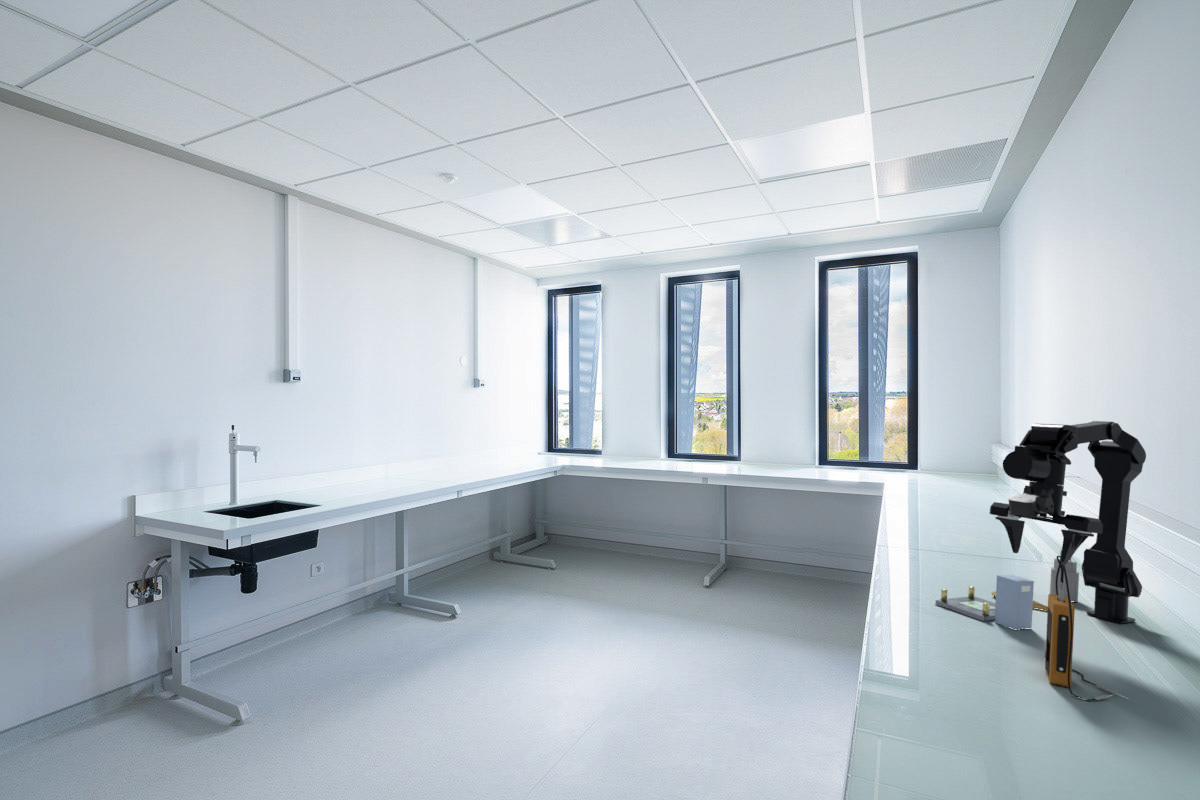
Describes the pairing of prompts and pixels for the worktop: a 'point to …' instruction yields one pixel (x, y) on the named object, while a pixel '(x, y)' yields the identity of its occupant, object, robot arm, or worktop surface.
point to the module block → (1014, 601)
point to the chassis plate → (969, 605)
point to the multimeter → (1062, 638)
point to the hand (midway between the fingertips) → (1038, 558)
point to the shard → (1035, 604)
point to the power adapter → (1071, 577)
